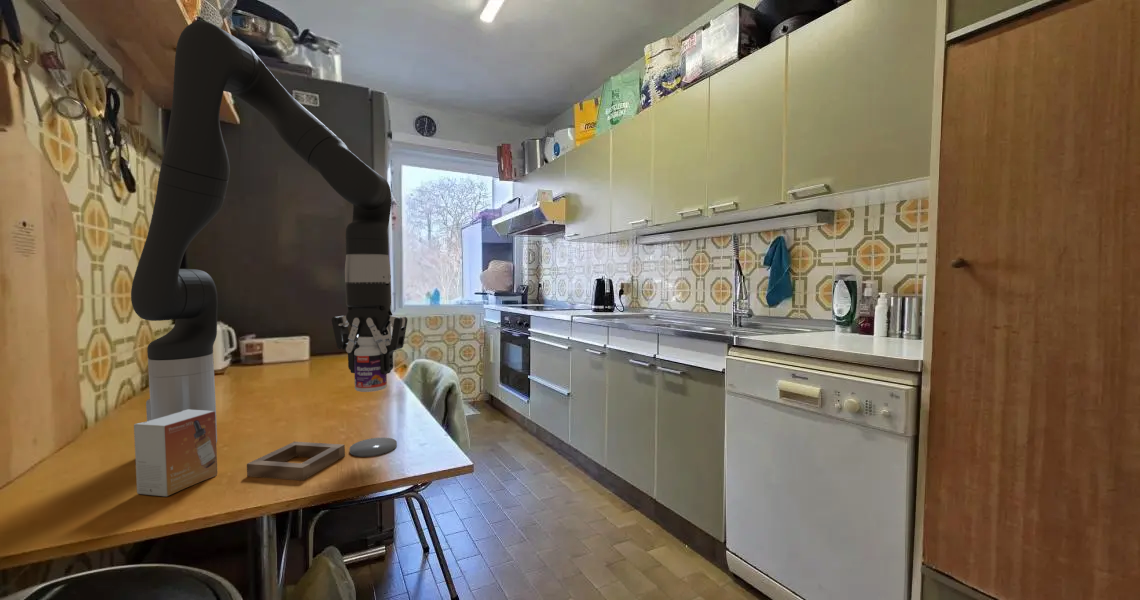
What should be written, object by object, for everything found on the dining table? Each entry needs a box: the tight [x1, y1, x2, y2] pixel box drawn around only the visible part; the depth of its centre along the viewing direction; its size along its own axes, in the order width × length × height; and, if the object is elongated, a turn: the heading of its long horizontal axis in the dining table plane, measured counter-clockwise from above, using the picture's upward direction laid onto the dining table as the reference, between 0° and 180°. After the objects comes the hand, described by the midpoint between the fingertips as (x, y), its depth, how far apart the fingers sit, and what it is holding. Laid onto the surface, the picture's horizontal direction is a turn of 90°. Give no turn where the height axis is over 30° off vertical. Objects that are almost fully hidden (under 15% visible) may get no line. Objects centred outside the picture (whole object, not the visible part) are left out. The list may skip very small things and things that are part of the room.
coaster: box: [349, 437, 398, 458], centre depth 85 cm, size 8×8×1 cm
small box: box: [133, 409, 218, 497], centre depth 70 cm, size 8×6×10 cm
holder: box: [246, 441, 346, 481], centre depth 77 cm, size 10×10×2 cm
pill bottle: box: [353, 336, 388, 393], centre depth 84 cm, size 5×5×10 cm
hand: (371, 372), depth 84 cm, fingers closed on pill bottle, 5 cm apart
